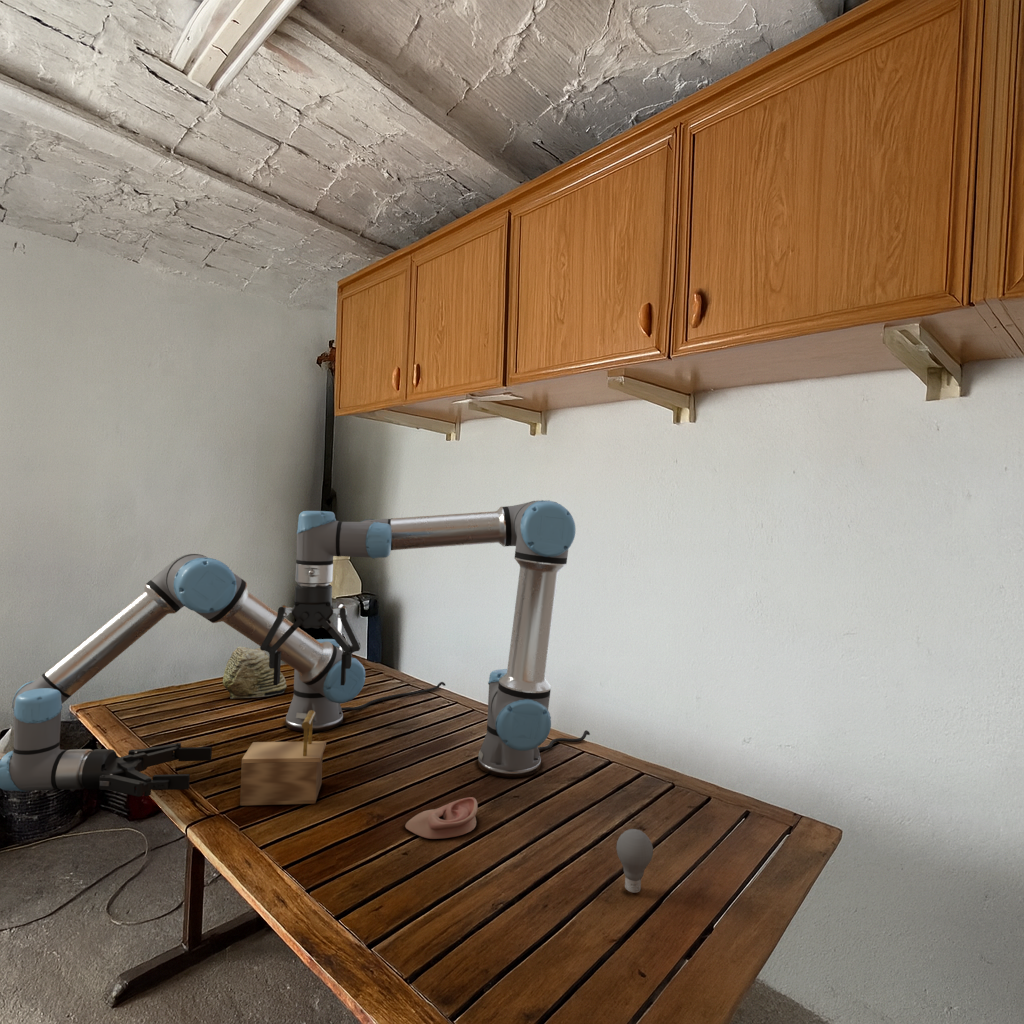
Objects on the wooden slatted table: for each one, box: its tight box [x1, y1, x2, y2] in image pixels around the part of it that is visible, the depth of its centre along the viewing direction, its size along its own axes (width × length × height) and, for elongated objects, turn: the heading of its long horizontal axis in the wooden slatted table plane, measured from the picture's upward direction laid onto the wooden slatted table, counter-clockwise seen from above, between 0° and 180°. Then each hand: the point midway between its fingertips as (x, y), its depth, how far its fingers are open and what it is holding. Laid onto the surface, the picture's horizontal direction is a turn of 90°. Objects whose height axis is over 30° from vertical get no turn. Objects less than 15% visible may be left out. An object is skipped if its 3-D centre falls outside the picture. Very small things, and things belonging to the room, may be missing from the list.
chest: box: [239, 754, 324, 807], centre depth 134 cm, size 15×9×9 cm, turn 99°
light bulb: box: [615, 828, 654, 894], centre depth 106 cm, size 6×6×10 cm
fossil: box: [222, 646, 288, 699], centre depth 198 cm, size 9×18×15 cm, turn 132°
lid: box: [241, 710, 327, 764], centre depth 134 cm, size 15×9×8 cm, turn 99°
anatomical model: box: [404, 796, 479, 840], centre depth 124 cm, size 13×4×12 cm
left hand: (200, 767), depth 131 cm, fingers open, 13 cm apart
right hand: (310, 683), depth 134 cm, fingers open, 13 cm apart
